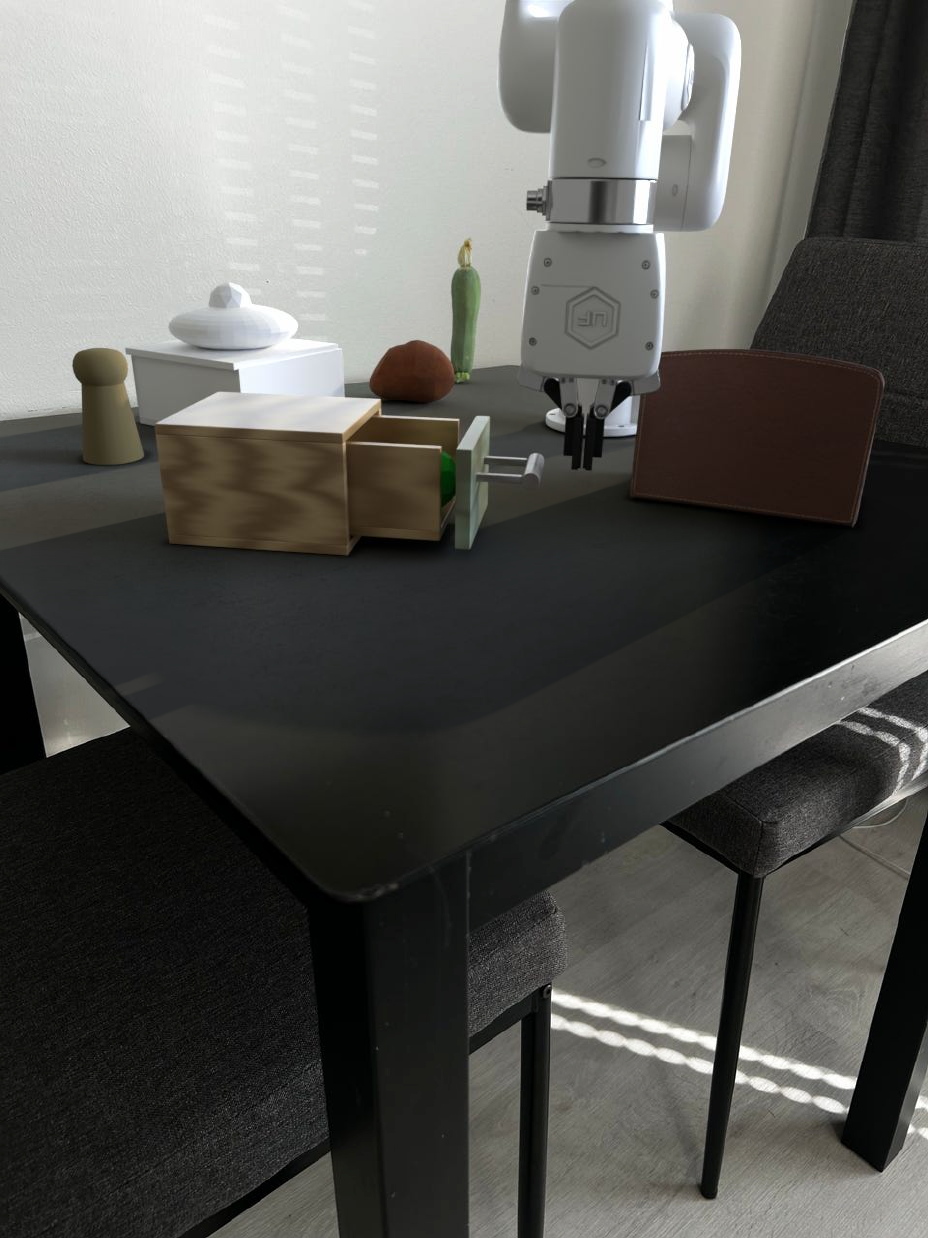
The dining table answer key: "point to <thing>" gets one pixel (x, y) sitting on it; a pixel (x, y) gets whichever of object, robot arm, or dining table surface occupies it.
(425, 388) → the potato
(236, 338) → the butter dish
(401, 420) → the drawer
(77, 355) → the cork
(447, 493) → the polyhedron
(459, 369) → the vegetable
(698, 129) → the robot arm
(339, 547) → the cabinet
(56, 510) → the dining table surface
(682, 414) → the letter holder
